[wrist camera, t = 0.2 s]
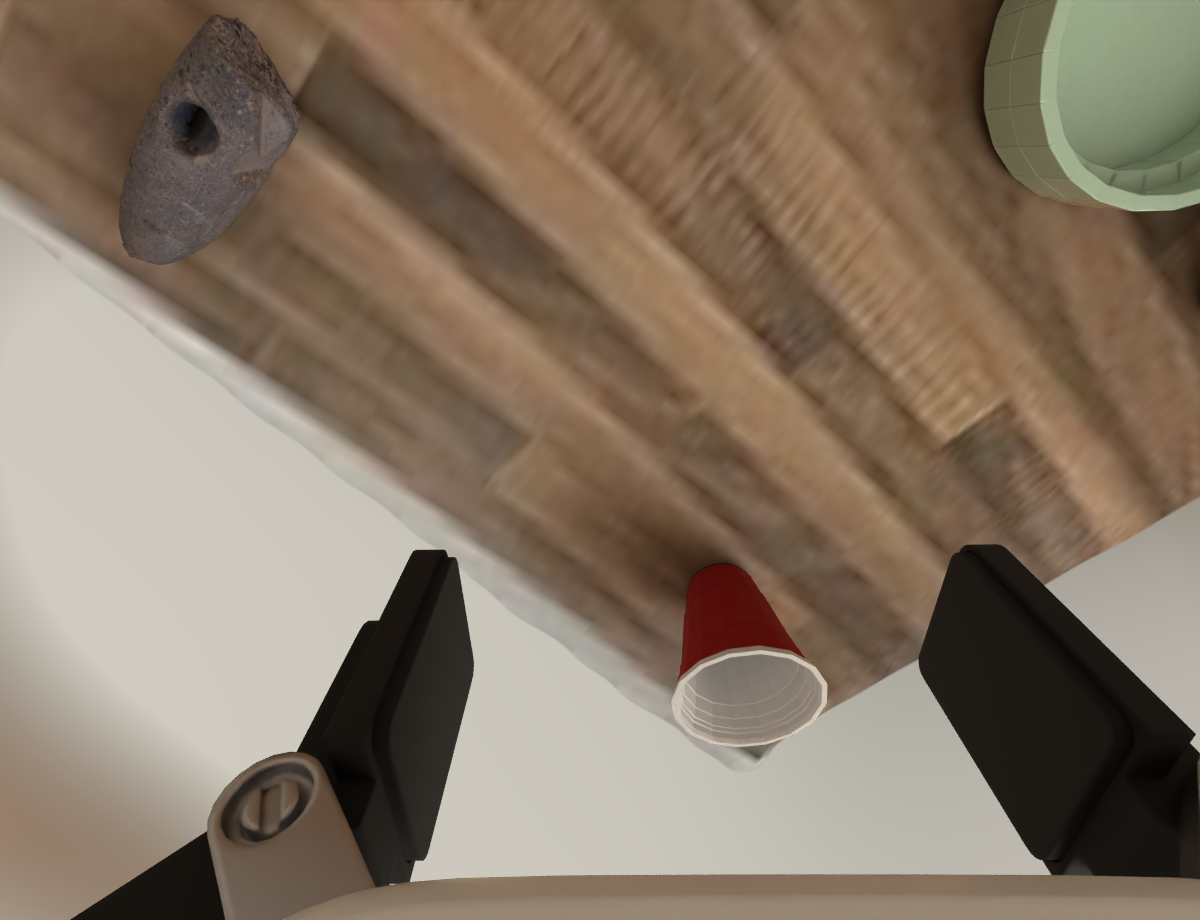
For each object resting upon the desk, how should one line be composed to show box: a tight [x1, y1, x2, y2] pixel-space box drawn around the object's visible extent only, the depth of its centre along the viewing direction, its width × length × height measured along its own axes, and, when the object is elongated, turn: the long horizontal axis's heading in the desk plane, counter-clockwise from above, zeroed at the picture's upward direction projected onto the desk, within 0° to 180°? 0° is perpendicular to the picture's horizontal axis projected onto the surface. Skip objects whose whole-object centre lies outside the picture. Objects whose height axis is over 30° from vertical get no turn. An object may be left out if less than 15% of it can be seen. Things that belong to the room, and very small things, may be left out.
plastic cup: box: [671, 564, 827, 747], centre depth 45 cm, size 11×11×12 cm
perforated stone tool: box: [119, 15, 300, 265], centre depth 32 cm, size 15×5×7 cm, turn 133°
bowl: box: [984, 0, 1200, 211], centre depth 30 cm, size 17×17×6 cm
